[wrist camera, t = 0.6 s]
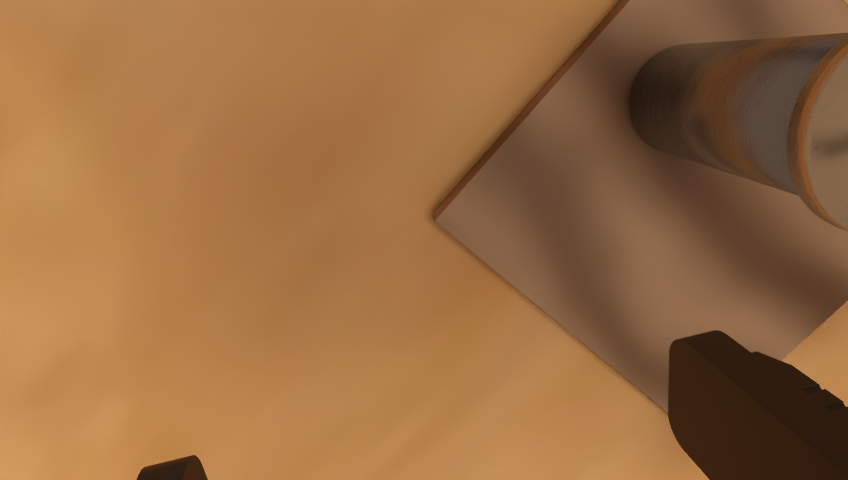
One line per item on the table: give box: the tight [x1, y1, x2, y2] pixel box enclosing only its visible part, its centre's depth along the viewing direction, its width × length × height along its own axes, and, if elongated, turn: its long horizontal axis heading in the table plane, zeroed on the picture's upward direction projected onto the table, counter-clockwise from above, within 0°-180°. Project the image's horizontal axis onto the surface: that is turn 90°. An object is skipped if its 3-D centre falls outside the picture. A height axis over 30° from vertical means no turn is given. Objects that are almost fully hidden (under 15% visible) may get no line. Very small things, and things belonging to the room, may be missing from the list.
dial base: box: [433, 0, 848, 413], centre depth 23 cm, size 20×22×16 cm
